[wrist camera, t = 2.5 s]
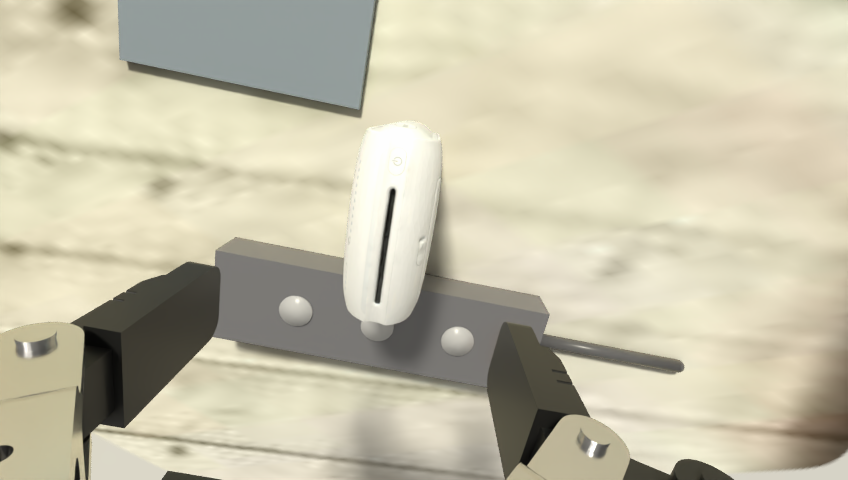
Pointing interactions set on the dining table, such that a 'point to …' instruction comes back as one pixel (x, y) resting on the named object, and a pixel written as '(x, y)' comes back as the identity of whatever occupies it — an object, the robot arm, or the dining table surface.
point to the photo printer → (391, 220)
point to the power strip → (373, 342)
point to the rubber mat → (256, 43)
